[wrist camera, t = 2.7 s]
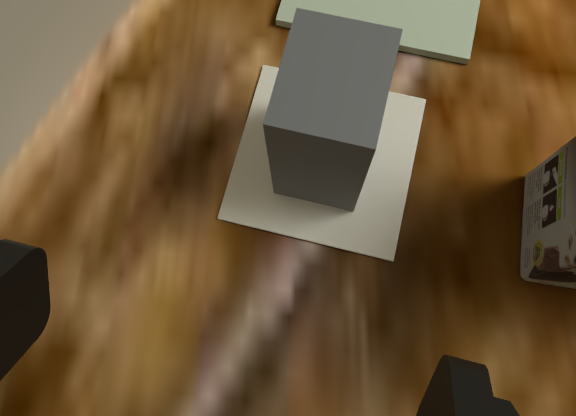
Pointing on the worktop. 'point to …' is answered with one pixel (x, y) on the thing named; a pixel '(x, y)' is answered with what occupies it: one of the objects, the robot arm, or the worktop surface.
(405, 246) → the worktop surface
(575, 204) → the coffee box
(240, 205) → the cream tile
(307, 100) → the charcoal block
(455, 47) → the sage pad
